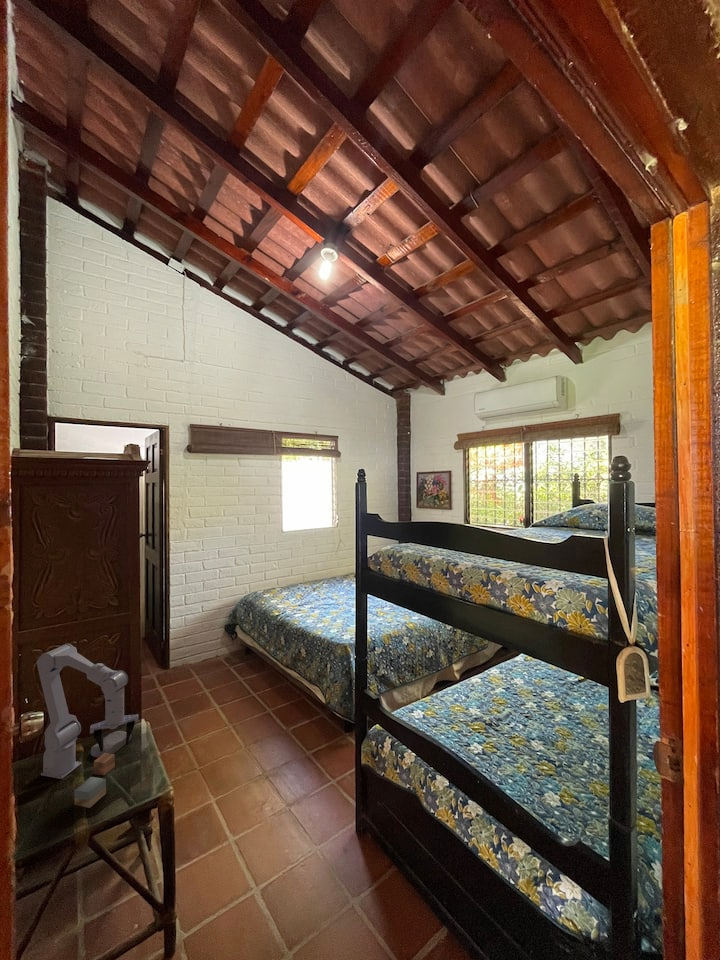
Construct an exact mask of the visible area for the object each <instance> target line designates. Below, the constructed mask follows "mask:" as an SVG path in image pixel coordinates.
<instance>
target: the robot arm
mask: <svg viewBox="0 0 720 960" xmlns="http://www.w3.org/2000/svg"><path fill="white" fill-rule="evenodd" d="M36 666H37V670H38V675H39V679H40V683H41V687H42V693H43V696H44V700H45V704H46V705H45V706H46V708H47V713H48V716H49V721H50V723H49V725H48V727H47V728H46V729H45V732H44V736H45V737H44V747H45V751H44V753H43V757H42V758H43V762H42V763H43V766H42V769H43V772H41V773H40V775H41V776H43V777H49V778H54V779H59V780H61V779H64V778H65V777H66V776H68V775H69V774H71V772H73V771H75V769H78V767H80V766H82V764H83V763H82V762H81V761H76V745H77V744H76V741H77V740H78V736H79V735H80V733H82V732H81V731H82V726H81V723H80V722H79V721H78V719H77V716H76V715H74V714H70V713H69V708H68V704H67V700H66V696H65V692H64V687H63V685H62V684H63V683H62V680H61V679H62V678H61V675H60V672H61V670H62V669H64V667H70V668H73V669H75V670H78V671H80V672H82V673H85V674H86V679H87V680H89V681H90V682H92V683H94V684H96V685H98V686H99V687H100V688H101V692H102V693H103V697H104V700H105V704H104V705H105V706H104V707H105V708H104V709H105V711H104V712H105V713H104V714H105V720H102V721H99V722H96V723H94V724H91V725H90V728H89V734H93V739H94V740H95V741H96V744H97V743H98V745H99V748H100V752H103V748H104V743H103V738H104V730H107V729H110V730H114V729H117V728H118V727H119V726H122V725H126V726H125V727H126V728H125V732H126V745H125V746H129V742H130V741H129V737H130V734H131V735H132V732H133V729H134V728H135V723H138V722H139V713H136V714H128V715H126V714H125V686H126V685H127V684H128V683H129V677H128V676H129V675H128V674H127V672H125V671H124V670H122V669H121V670H114V669H111V668H110V667H108V666H106V665H105V664H104V663H102V662H101V663H100V662H99V663H96V664H95V663H93V662H91V661H90V660H89V659H87V658H86V657H85V656H83V655H82V654H80V653H79V652H78V650H77V647H76V646H74V645H72V644H71V643H65V644H62V645H61V646H58V647H57V648H54V649H52V650H50V651H47V652H44V653H42V654H40V655H39V657H38V659H37V660H36Z"/></svg>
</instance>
